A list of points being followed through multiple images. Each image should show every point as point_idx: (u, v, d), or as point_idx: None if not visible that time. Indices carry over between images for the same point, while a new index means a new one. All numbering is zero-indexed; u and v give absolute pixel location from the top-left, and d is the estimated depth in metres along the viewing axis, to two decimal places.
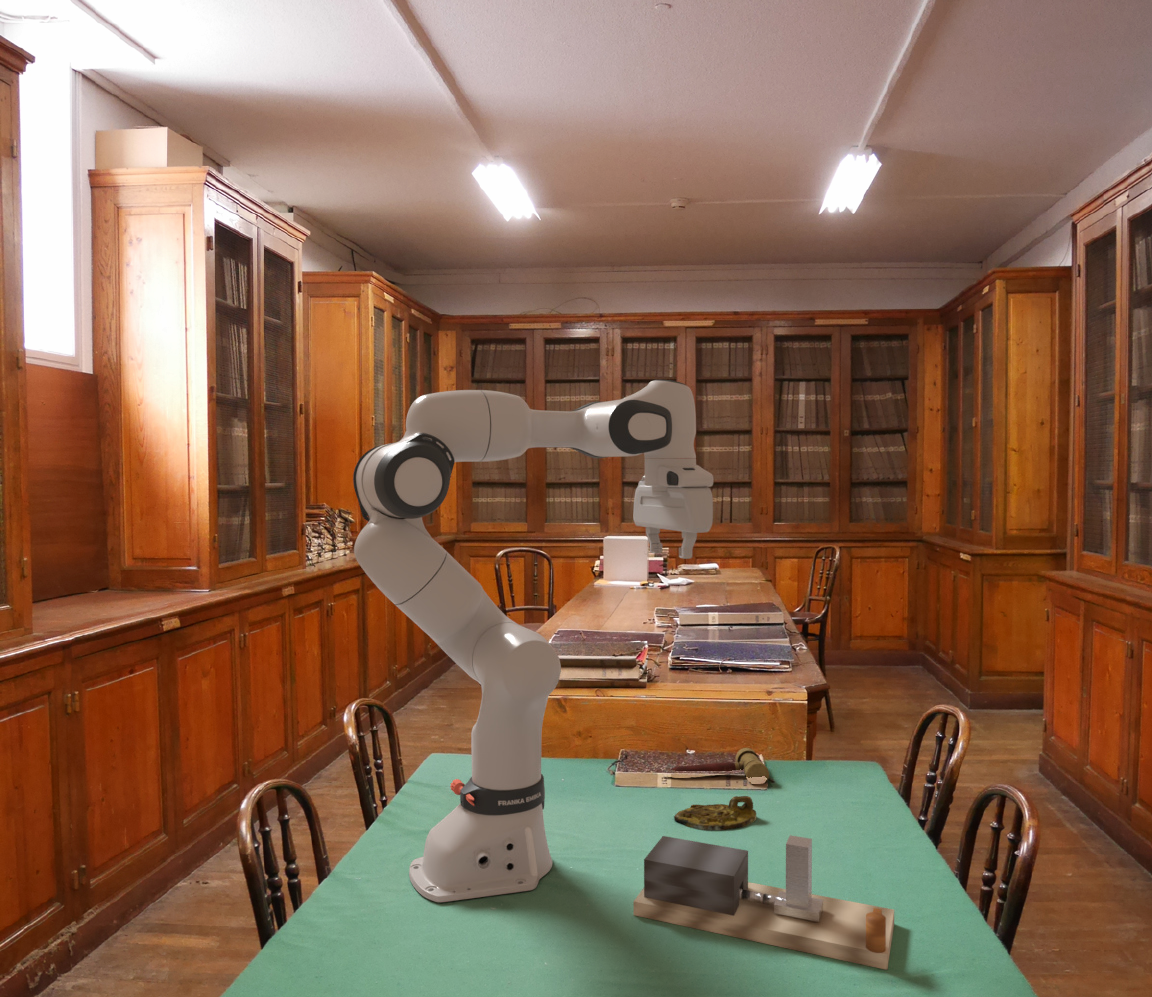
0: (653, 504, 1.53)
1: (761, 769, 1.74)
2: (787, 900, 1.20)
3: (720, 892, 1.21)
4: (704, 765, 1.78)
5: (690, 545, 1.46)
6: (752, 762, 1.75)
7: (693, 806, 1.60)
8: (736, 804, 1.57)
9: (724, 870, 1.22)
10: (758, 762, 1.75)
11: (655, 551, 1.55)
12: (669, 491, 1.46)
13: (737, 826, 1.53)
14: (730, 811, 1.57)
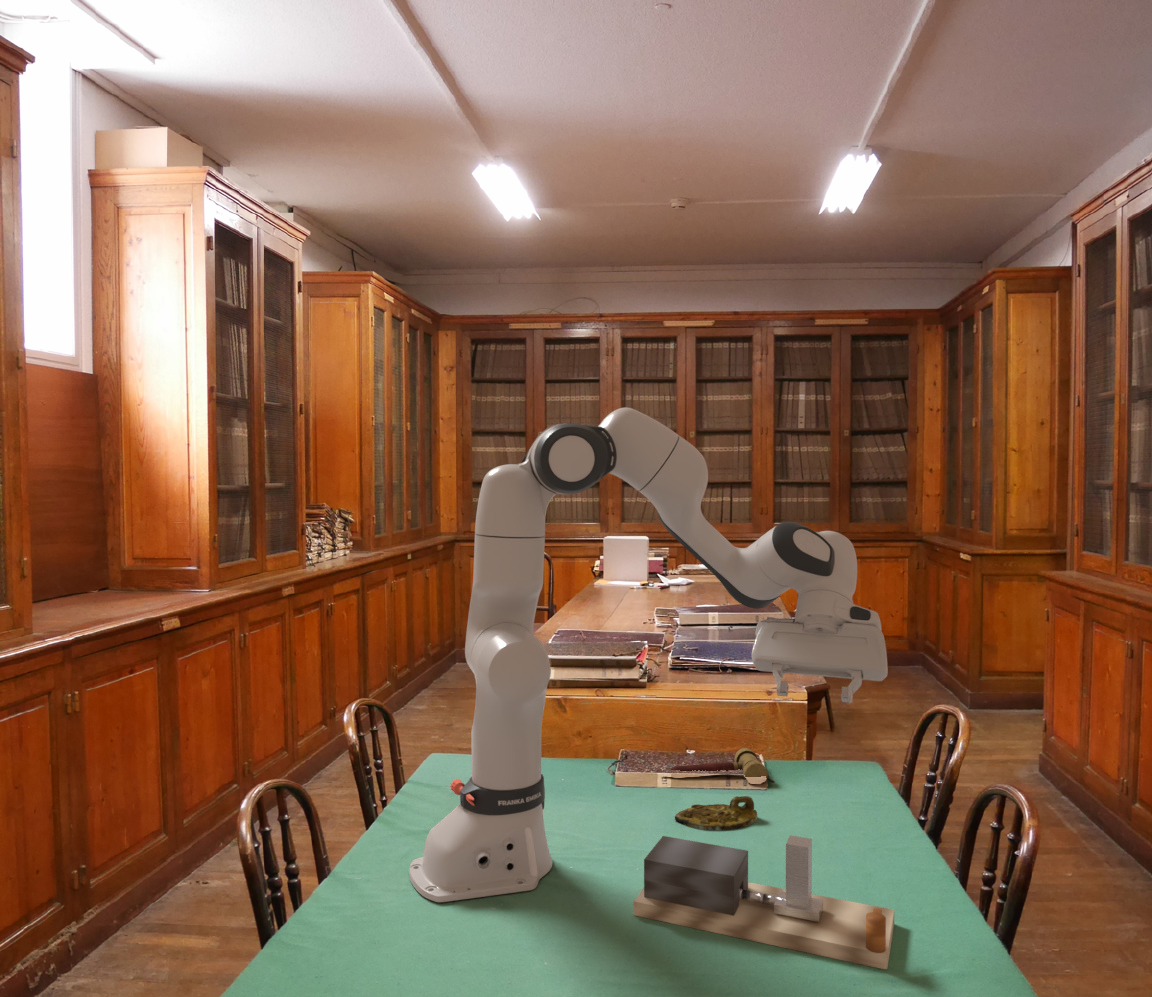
0: (798, 640, 1.37)
1: (759, 769, 1.74)
2: (787, 900, 1.20)
3: (720, 892, 1.21)
4: (703, 765, 1.78)
5: (855, 689, 1.30)
6: (751, 762, 1.75)
7: (694, 806, 1.60)
8: (737, 804, 1.57)
9: (724, 870, 1.22)
10: (757, 762, 1.75)
11: (786, 690, 1.32)
12: (848, 626, 1.34)
13: (738, 826, 1.53)
14: (731, 811, 1.57)
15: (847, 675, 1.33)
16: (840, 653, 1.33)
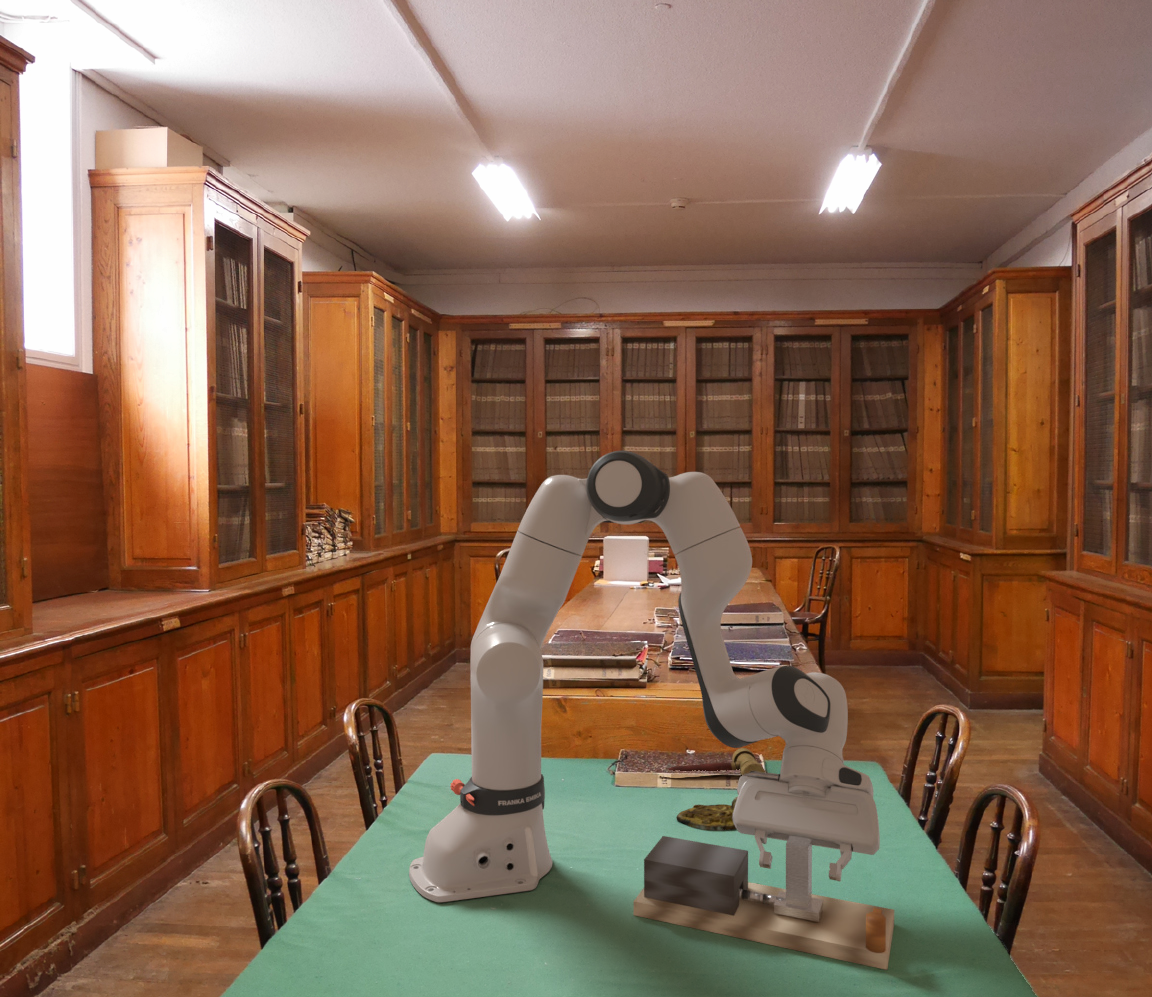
0: (783, 803, 1.26)
1: (757, 770, 1.74)
2: (787, 900, 1.20)
3: (720, 892, 1.21)
4: (700, 765, 1.78)
5: (844, 864, 1.20)
6: (748, 762, 1.75)
7: (696, 806, 1.60)
8: None
9: (724, 870, 1.22)
10: (754, 762, 1.75)
11: (769, 862, 1.22)
12: (836, 790, 1.24)
13: None
14: (733, 811, 1.56)
15: (835, 846, 1.22)
16: (828, 822, 1.22)
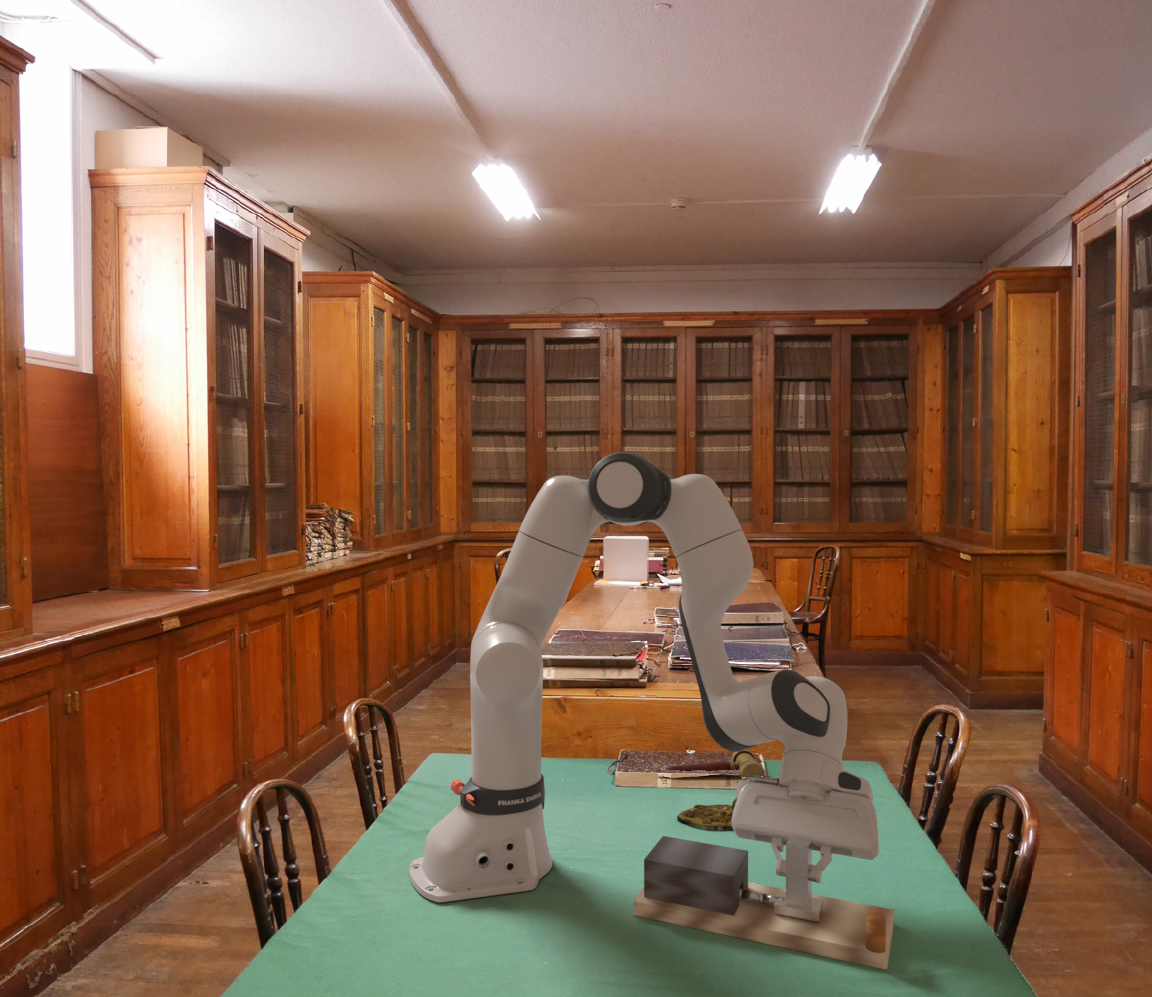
0: (782, 808, 1.26)
1: (756, 769, 1.74)
2: (787, 900, 1.20)
3: (720, 892, 1.21)
4: (699, 765, 1.78)
5: (824, 866, 1.20)
6: (747, 762, 1.75)
7: (696, 806, 1.60)
8: None
9: (724, 870, 1.22)
10: (753, 762, 1.75)
11: None
12: (836, 795, 1.23)
13: None
14: None
15: (834, 851, 1.22)
16: (827, 827, 1.22)
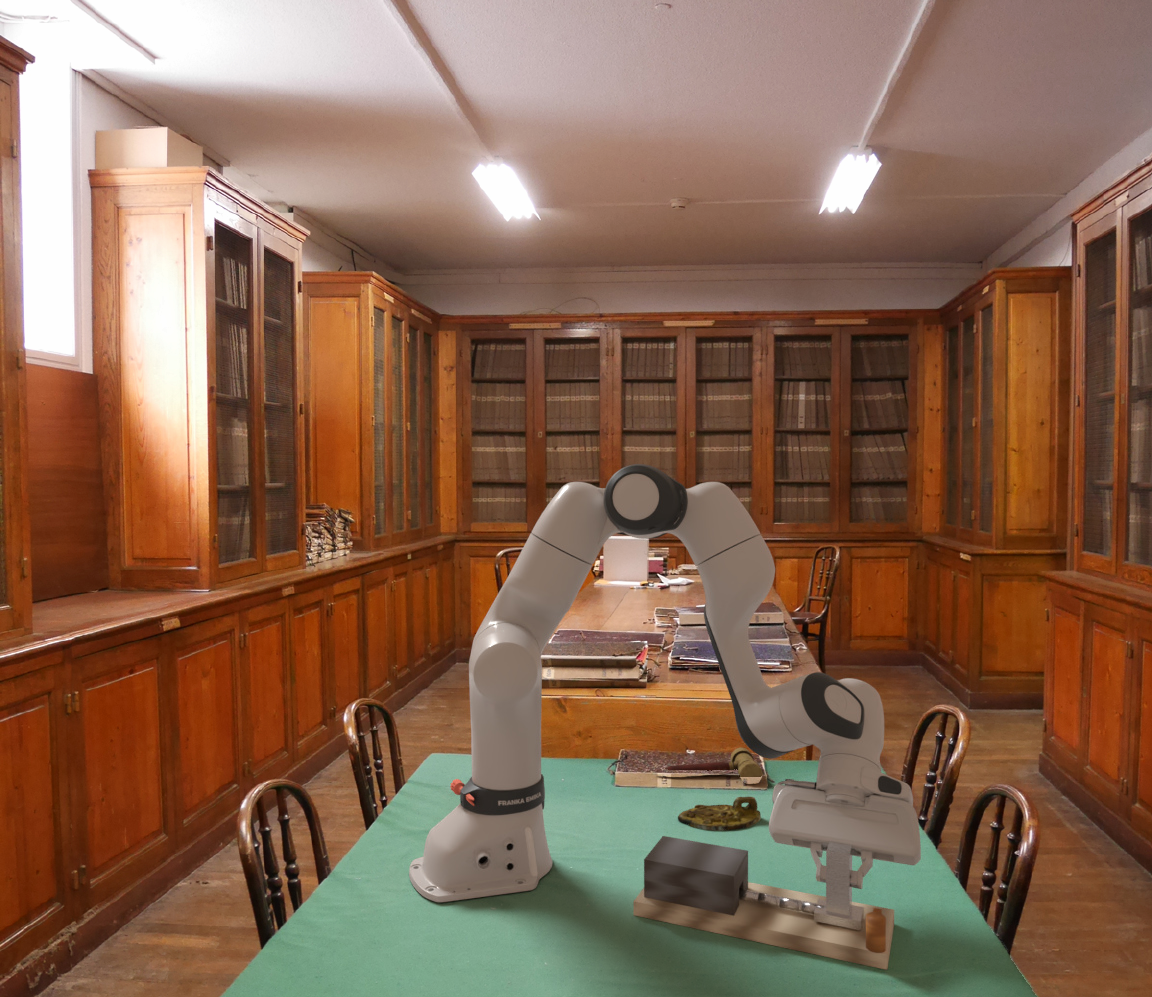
0: (821, 812, 1.23)
1: (755, 770, 1.74)
2: (827, 908, 1.18)
3: (720, 892, 1.21)
4: (698, 765, 1.79)
5: (865, 872, 1.18)
6: (746, 762, 1.75)
7: (697, 806, 1.60)
8: (740, 805, 1.57)
9: (724, 870, 1.22)
10: (752, 762, 1.75)
11: None
12: (876, 799, 1.21)
13: (741, 827, 1.53)
14: (734, 812, 1.56)
15: (875, 856, 1.20)
16: (868, 832, 1.19)
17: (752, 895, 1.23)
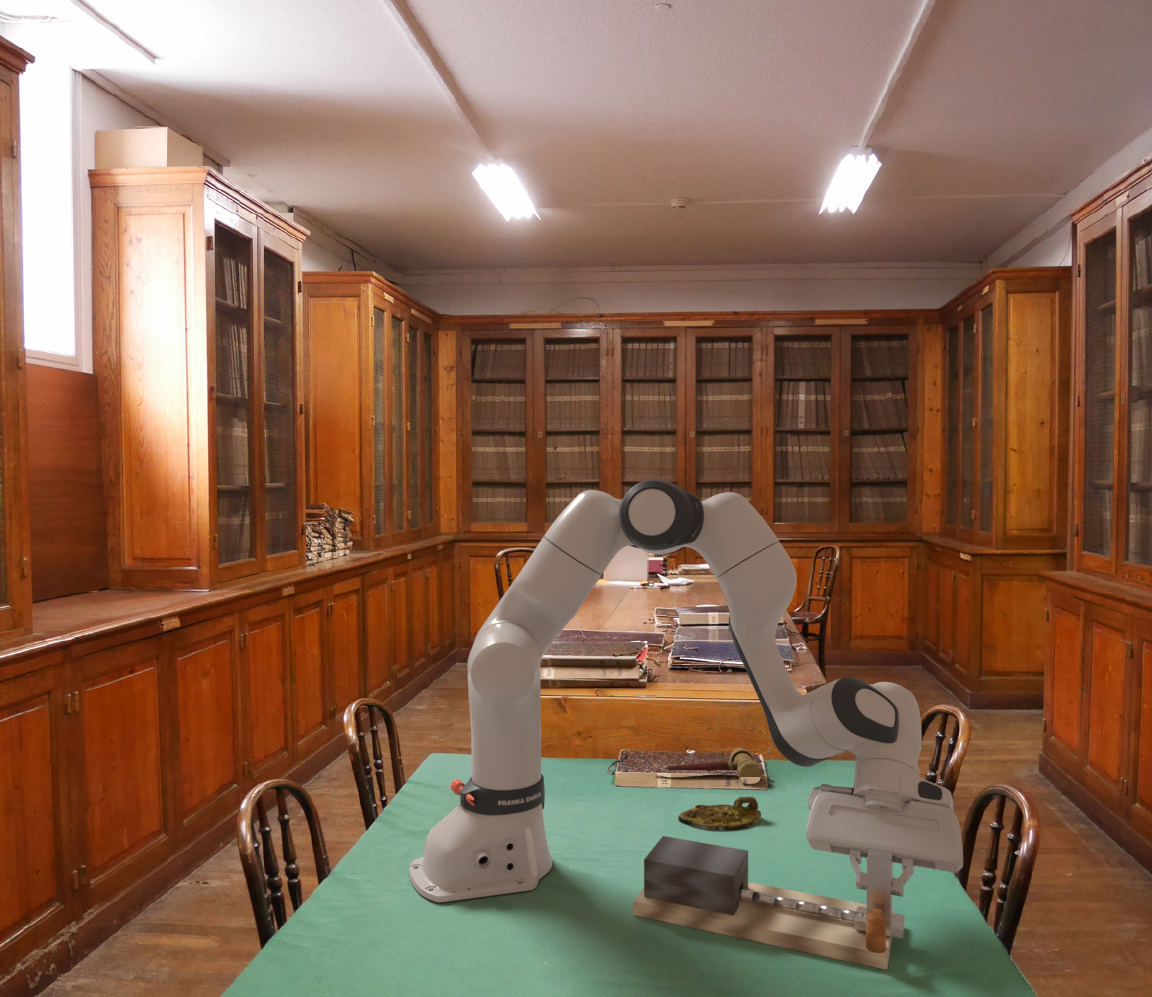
0: (859, 818, 1.21)
1: (754, 769, 1.74)
2: None
3: (720, 892, 1.21)
4: (697, 765, 1.79)
5: (907, 879, 1.16)
6: (745, 762, 1.75)
7: (698, 806, 1.60)
8: (741, 805, 1.56)
9: (724, 870, 1.22)
10: (751, 762, 1.75)
11: None
12: (916, 805, 1.19)
13: (741, 827, 1.53)
14: (735, 812, 1.56)
15: (916, 863, 1.18)
16: (908, 838, 1.17)
17: (790, 902, 1.21)
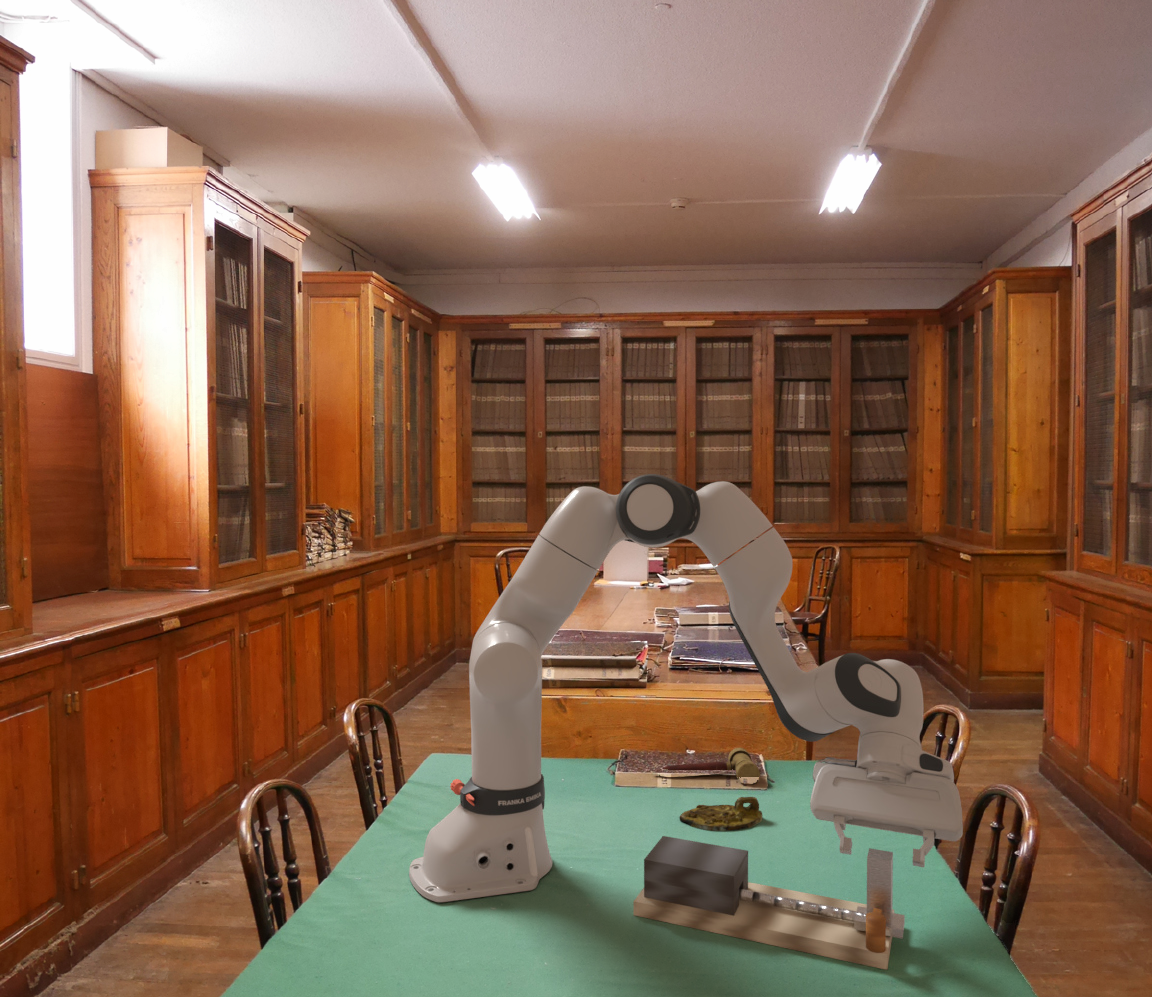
0: (862, 789, 1.25)
1: (752, 769, 1.74)
2: None
3: (720, 892, 1.21)
4: (696, 764, 1.79)
5: (927, 851, 1.18)
6: (743, 762, 1.75)
7: (699, 806, 1.60)
8: (742, 805, 1.56)
9: (724, 870, 1.22)
10: (749, 762, 1.75)
11: (850, 848, 1.21)
12: (917, 776, 1.23)
13: (742, 827, 1.53)
14: (736, 812, 1.56)
15: (917, 832, 1.21)
16: (910, 808, 1.21)
17: (790, 902, 1.21)
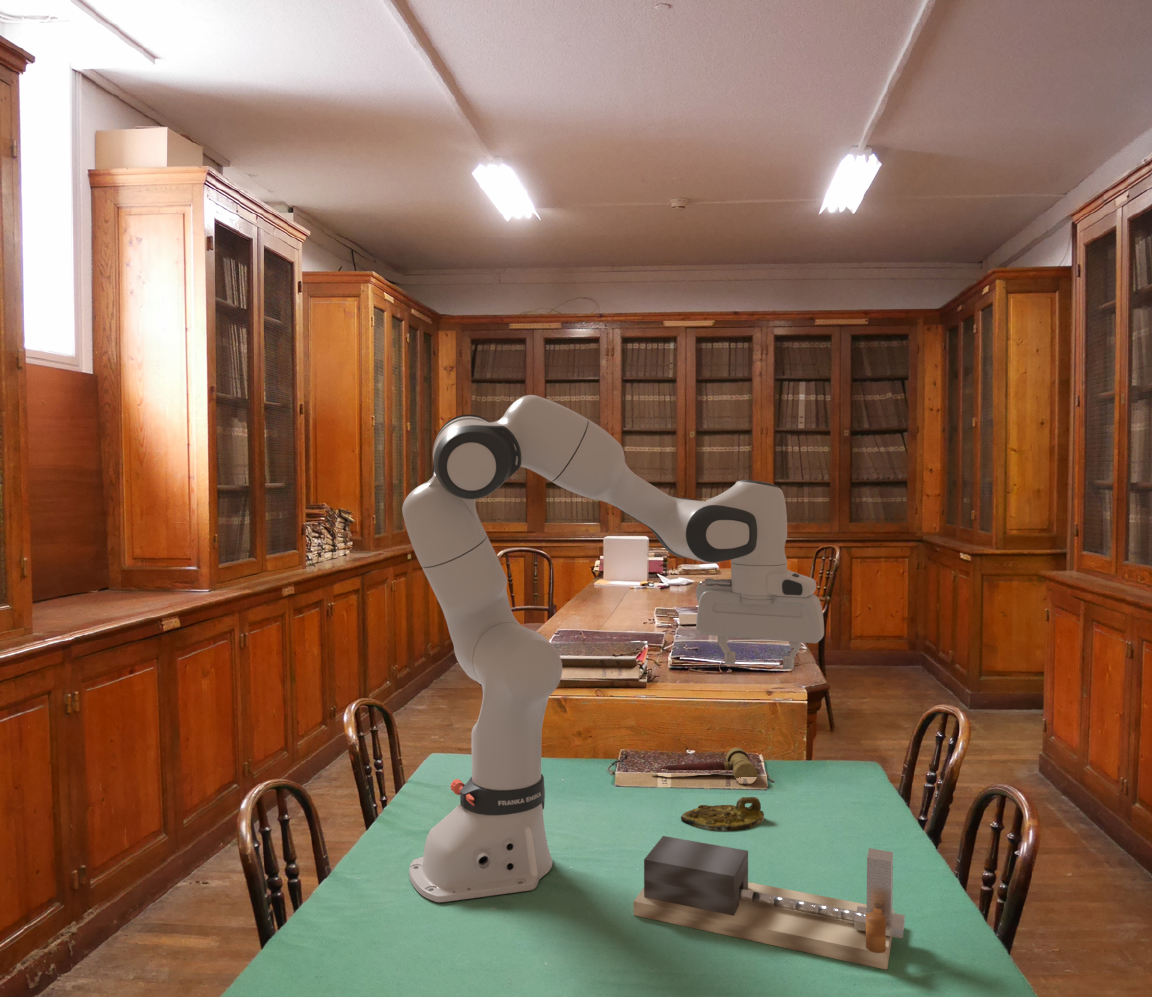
0: (737, 612, 1.41)
1: (749, 769, 1.74)
2: None
3: (720, 892, 1.21)
4: (693, 764, 1.79)
5: (795, 654, 1.40)
6: (741, 762, 1.75)
7: (700, 806, 1.60)
8: (743, 805, 1.56)
9: (724, 870, 1.22)
10: (747, 762, 1.75)
11: (733, 661, 1.43)
12: (782, 600, 1.37)
13: (744, 827, 1.53)
14: (737, 812, 1.56)
15: None
16: (778, 626, 1.38)
17: (790, 902, 1.21)
